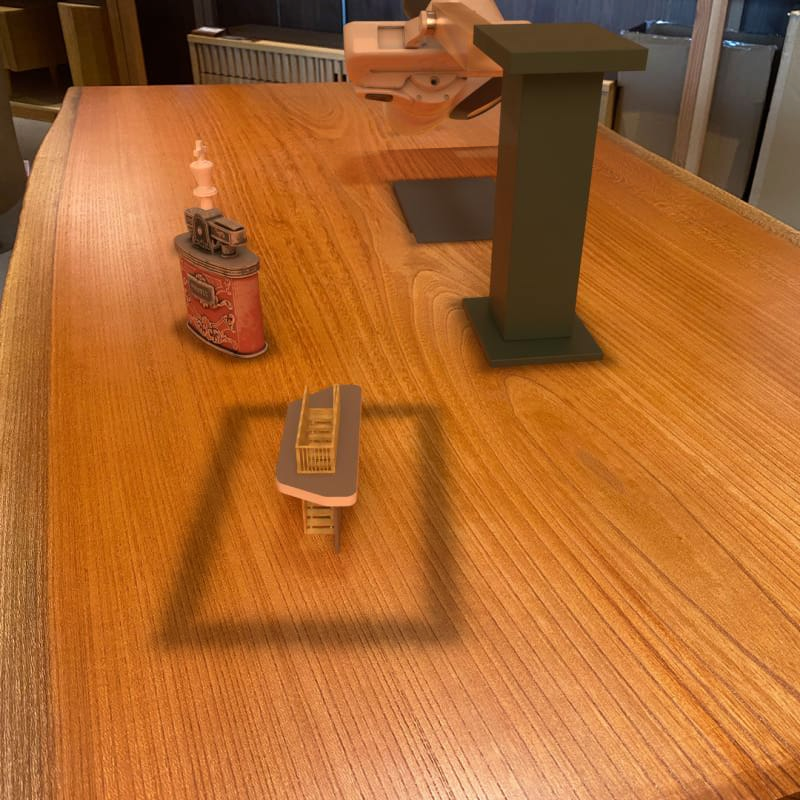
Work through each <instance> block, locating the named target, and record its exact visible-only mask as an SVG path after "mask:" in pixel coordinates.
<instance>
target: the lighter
mask: <svg viewBox="0 0 800 800" xmlns="http://www.w3.org/2000/svg"><path fill="white" fill-rule="evenodd" d="M183 213H184V221H185V225H186V229H187V232H182V233H179V234H177V235H176V236H174V237H173V245H174V250H175V252H176V253H177V254H178V259H179V266H180V272H181V279H182V285H183V291H184V298H185V305H186V311H187V319H188V320H187V321H186V328H187V330H188V331H189V332H190V333H191V334H192V335H193V336H194V337H195V338H197V339H198V340H199V341H201V342H202V343H204V344H205V345H206V346H209V347H211V348H212V349H214V350H216V351H218V352H220V353H223V354H225V355H228V356H231V357H233V358H236V359H239V360H251V359H255V358H259V357H261V356H263V355H264V354H266V353H267V352H268V349H269V345H268V343H267V341H266V340H265V331H264V321H263V311H262V301H261V300H262V299H261V292H260V290H261V289H260V281H259V272H260V270H261V262H260V257H259V255H258V254H256V253H255V252H254V251H252V250H251V249H250V248H249V247H246V246H244V245H246V244H247V243H248V237H247V228H246V227H245V226H244V225H243V224H242V223H240V222H238V221H235V220H233V219H230V218H229V217H226V216H225V215H224V213H223V211H222V209H221V208H218V207H214V208H212V209H209V210H204V209H202V208H201V207H199V206H191V207H188V208H187V207H186V208H185V209H184V210H183Z"/></svg>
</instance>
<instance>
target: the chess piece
mask: <svg viewBox="0 0 800 800" xmlns="http://www.w3.org/2000/svg"><path fill="white" fill-rule="evenodd" d="M203 143H204V142H203V140H202V139H201V140H199V139H198V140H195V143H194V144H195V149H194V150H192V156H193V157H196V158H197V160H195V161H192V162H190V164H189V169H190V171H191V173H192V174H193V177H194V179H195V182H196V183H197V187H195V188H194V189H193V191H192V195H193V196H195V197H198V198H199V199H200V208H202V209H204V210H209V209H212V208H215V207H214V203H213V198H212V197H213V196H215V195H217V194H218V193H219V191H218V190H217V187H215V186H212V185H211V182H212V178H213V177H212V176H213V172H214V167H215V165H214V163H213V162H212V161H211V160H206V159H205V153H206V152H207V151H208V148H207V145H204V144H203Z"/></svg>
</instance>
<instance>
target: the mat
mask: <svg viewBox="0 0 800 800" xmlns="http://www.w3.org/2000/svg"><path fill="white" fill-rule="evenodd" d="M392 189H393V192H394V193H395V197H396V199H397V201H398V202H397V203H398V204H399V207H400V210H401V211H402V212H401V213H402V214H403V216H404V219H405V222H406V224H407V226H408V229H409V232H410V233H411V234H412V233H413V235H414V238H415V241H416V243H417V244H419V245H420V244H438V243H439V244H441V243H459V242H460V243H461V242H478V241H493V224H494V208H495V192H496V180H494V178H493V177H492V176H478V177H458V178H457V177H455V178H434V179H432V178H431V179H430V178H429V179H410V180H409V179H407V180H406V179H405V180H393V181H392Z"/></svg>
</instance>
